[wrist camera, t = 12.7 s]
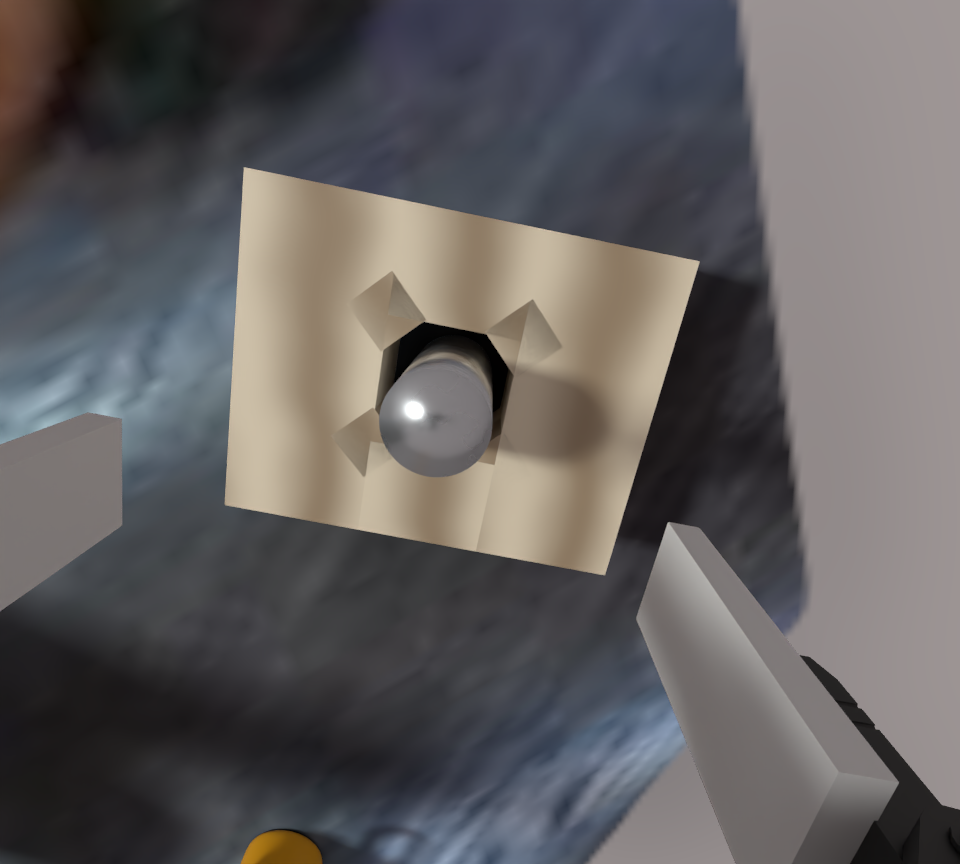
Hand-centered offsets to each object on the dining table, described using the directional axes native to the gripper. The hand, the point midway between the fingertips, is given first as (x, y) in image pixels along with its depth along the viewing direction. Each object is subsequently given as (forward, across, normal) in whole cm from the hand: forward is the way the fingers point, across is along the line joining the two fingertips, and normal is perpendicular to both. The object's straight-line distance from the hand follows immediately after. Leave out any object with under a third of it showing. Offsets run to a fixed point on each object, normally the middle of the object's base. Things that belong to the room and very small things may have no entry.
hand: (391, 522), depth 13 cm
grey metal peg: (+19, 0, 0) cm, 19 cm away
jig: (+18, 0, 0) cm, 18 cm away
